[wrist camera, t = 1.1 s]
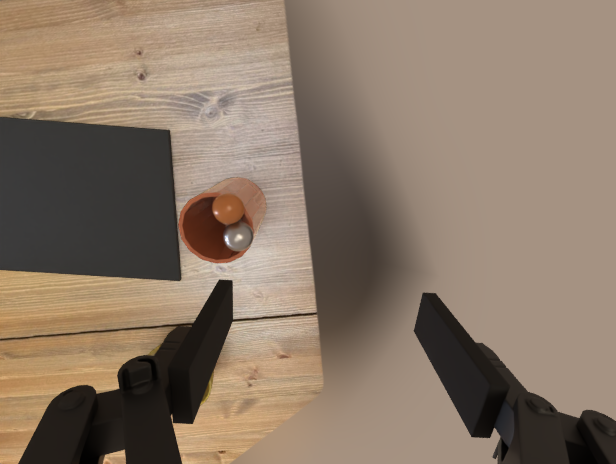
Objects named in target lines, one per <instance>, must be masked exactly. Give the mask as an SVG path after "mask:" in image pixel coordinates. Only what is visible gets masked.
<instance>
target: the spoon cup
mask: <svg viewBox="0 0 616 464" xmlns="http://www.w3.org/2000/svg"><path fill="white" fill-rule="evenodd" d="M224 193H232V194H235V195H237V196H238V197H239V198H240V199H241V200H242V201H243V204H244V214H243V216H242V218H241V222H244V223H246V224H248V225H249V226H250V227H251V229H252V230H253V234H254V238H255V236H256V234H257V232H258V230H259V228H260V226H261V223H262V221H263V219H264V216H265V213H266V199H265V196H264V194H263V192H262V191H261V189H260V188H259V187H258V186H257V185H256V184H255V183H253V182H252V181H250V180H247V179H245V178H239V177H234V178H228V179H226V180H224V181H222V182H220V183H218V184H216V185H215V186H213V187H211V188H209V189H208V190H206V191H204V192H202V193H201V194H199V195H197V196H196V197H194V198H192V199H190V200H189V201H188V202H187V204H186V205H185V206H184V208H183V209H182V211H181V213H180V219H179V224H178V226H179V230H180V235H181V239H182V240H183V242H184V243H185V245H186V246H187V248H188V249H189V250H190V251H191V252H192V253H194V254H195V255H196V256H198V257H199V258H201V259H202V260H206V261H209V262H213V263H227V262H231V261H233V260H235V259H238V258H240V257H242V256H243V254H244V253H245V252H246V251H247V250H248V249H249V248H247V249H246V250H243V251H233V250H231V249H229V248H228V247H227V246H226V244H225V243H224V240H223V233H224V230H225V228H226V227H227V226H228V225H229V224H224V223H221V222H220V221H218V220H217V219H216V218H215V216H214V214H213V211H212V205H213V202H214V200H215V199H216V198H217V197H218V196H219V195H221V194H224ZM253 240H254V239H253ZM250 246H251V245H250Z"/></svg>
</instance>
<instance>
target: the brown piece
mask: <svg viewBox="0 0 616 464" xmlns="http://www.w3.org/2000/svg"><path fill="white" fill-rule="evenodd" d="M212 211H213V214H214V216H215V218H216V219H217V220H218V221H220V222H221V223H224V224H233V223H236V222H238V221H239V220H240V219H241V218H242V216H243V214H244V204H243V201H242V200H241V199H240V198H239V197H238V196H237V195H235V194H232V193H224V194H221V195H219V196H218V197H217V198H216V199H215V200H214V202H213V205H212Z"/></svg>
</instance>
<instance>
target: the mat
mask: <svg viewBox="0 0 616 464" xmlns="http://www.w3.org/2000/svg"><path fill="white" fill-rule="evenodd" d="M0 270H10V271H26V272H42V273H58V274H75V275H91V276H107V277H123V278H139V279H156V280H172V281H180V280H181V270H180V257H179V244H178V231H177V218H176V205H175V192H174V179H173V166H172V153H171V140H170V130H160V129H147V128H134V127H121V126H109V125H96V124H83V123H70V122H57V121H44V120H31V119H19V118H6V117H0Z"/></svg>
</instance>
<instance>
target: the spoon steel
mask: <svg viewBox="0 0 616 464" xmlns="http://www.w3.org/2000/svg"><path fill="white" fill-rule="evenodd" d="M253 239H254V234H253V230H252V229H251V227H250V226H249V225H248V224H246V223H244V222H241V219H240V220H239V221H238V222H236V223H233V224H229V225H228V226H227V227H226V228H225V230H224V233H223V240H224V243H225V244H226V246H227V247H228V248H229V249H231V250H233V251H243V250H246V249H247V248H249V247H250V245H251V244H252V242H253Z"/></svg>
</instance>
